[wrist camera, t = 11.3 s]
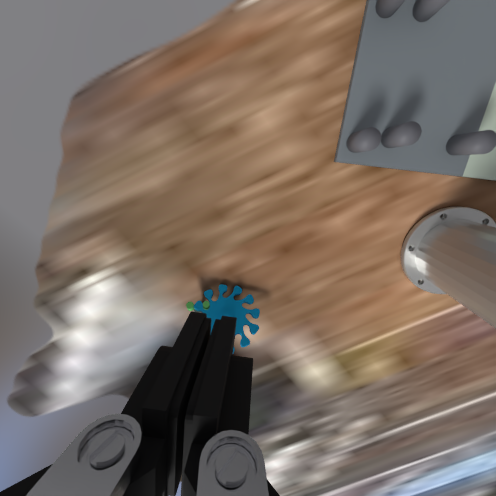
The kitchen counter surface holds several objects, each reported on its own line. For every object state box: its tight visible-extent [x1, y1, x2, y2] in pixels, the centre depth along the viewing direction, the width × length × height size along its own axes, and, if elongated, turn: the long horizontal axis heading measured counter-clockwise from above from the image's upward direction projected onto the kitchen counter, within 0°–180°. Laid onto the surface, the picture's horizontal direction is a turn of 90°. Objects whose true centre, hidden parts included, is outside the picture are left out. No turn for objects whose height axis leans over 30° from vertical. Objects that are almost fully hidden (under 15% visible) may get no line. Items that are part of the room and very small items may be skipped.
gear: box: [186, 284, 260, 353], centre depth 40 cm, size 11×6×10 cm
